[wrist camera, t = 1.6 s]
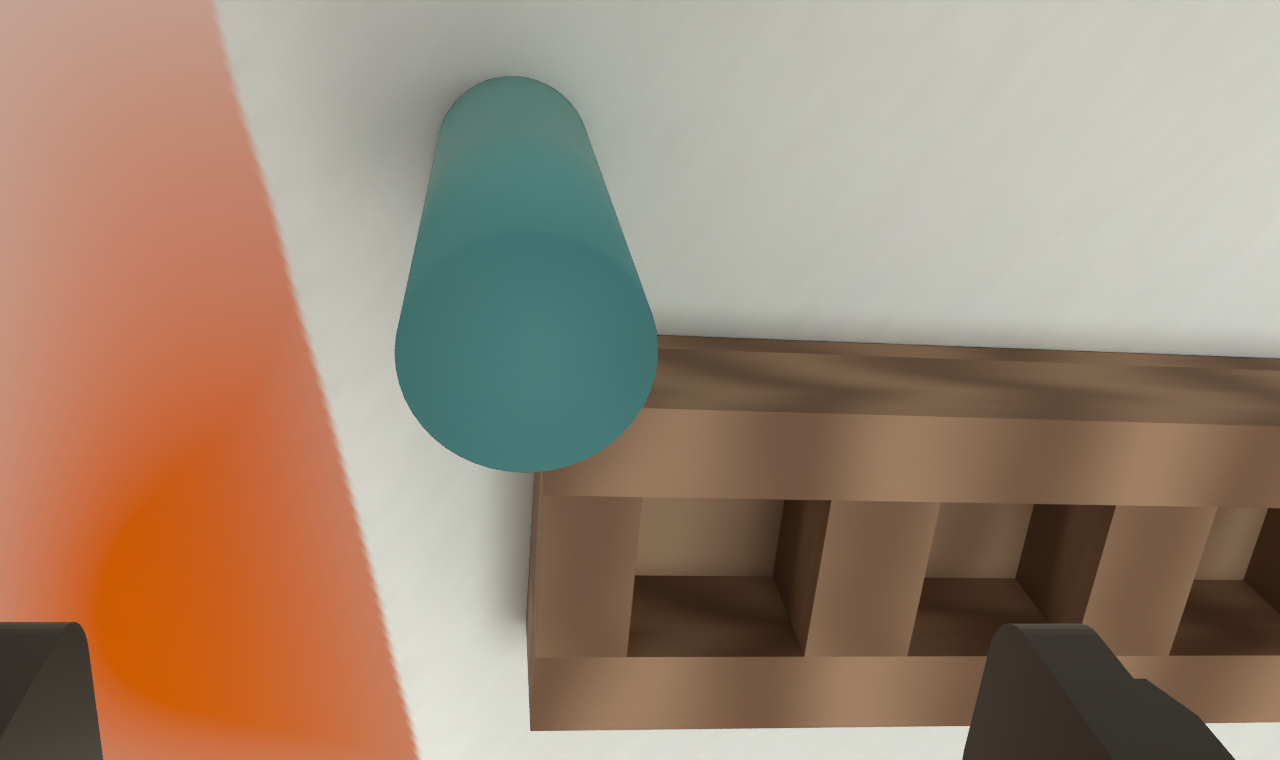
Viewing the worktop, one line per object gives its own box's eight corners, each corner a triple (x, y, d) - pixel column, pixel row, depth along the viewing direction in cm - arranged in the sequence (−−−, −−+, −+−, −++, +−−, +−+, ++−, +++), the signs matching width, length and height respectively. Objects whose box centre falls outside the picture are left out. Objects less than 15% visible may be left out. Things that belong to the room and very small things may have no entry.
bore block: (526, 623, 36) (530, 731, 32) (541, 330, 32) (549, 405, 28) (1270, 624, 40) (1370, 721, 35) (1366, 362, 36) (1493, 432, 31)
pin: (438, 71, 29) (394, 223, 16) (594, 81, 29) (669, 237, 17) (436, 223, 30) (394, 469, 18) (584, 230, 31) (645, 474, 18)
